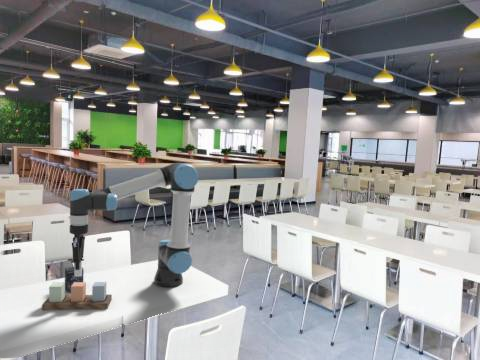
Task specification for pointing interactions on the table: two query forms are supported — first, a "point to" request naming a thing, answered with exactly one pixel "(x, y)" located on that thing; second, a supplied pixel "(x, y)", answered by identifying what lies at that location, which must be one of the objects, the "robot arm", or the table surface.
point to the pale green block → (57, 292)
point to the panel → (77, 304)
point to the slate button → (99, 291)
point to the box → (71, 278)
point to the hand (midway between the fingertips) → (77, 275)
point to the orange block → (78, 291)
